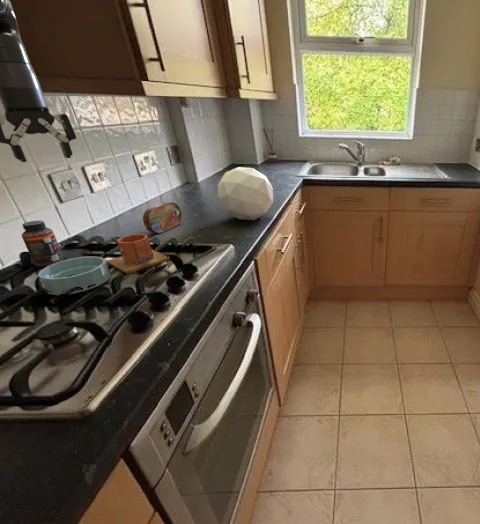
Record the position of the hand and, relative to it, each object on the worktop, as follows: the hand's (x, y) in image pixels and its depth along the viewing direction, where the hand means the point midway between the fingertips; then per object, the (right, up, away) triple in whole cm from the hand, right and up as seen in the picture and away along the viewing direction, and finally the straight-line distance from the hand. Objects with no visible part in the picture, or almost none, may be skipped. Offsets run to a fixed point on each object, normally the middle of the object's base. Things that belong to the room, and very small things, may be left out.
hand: (46, 159), depth 82 cm
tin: (+10, -14, +32) cm, 37 cm away
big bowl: (+11, -31, -4) cm, 33 cm away
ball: (+34, -9, +45) cm, 57 cm away
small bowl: (+18, -25, +8) cm, 31 cm away
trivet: (+18, -25, +8) cm, 32 cm away
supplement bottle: (-5, -26, +6) cm, 27 cm away
